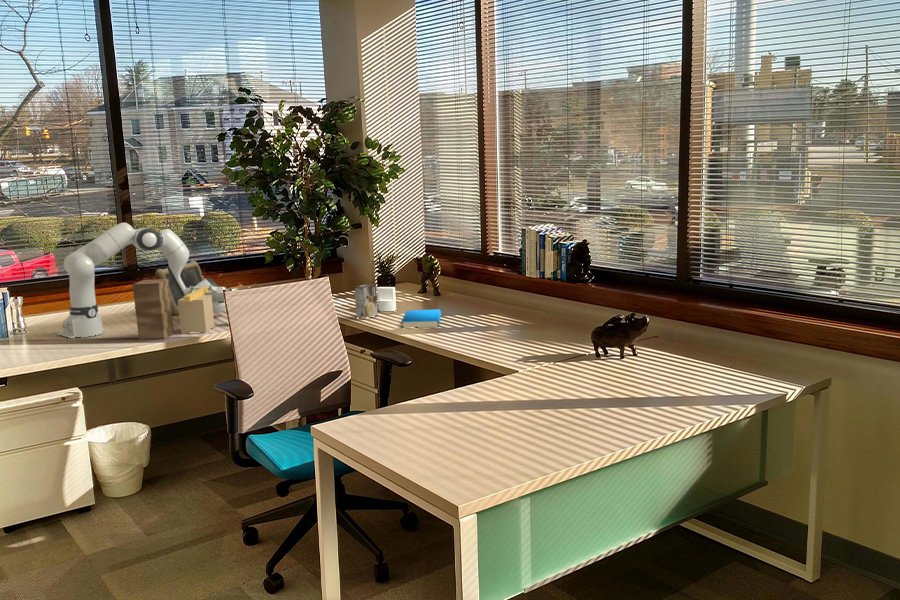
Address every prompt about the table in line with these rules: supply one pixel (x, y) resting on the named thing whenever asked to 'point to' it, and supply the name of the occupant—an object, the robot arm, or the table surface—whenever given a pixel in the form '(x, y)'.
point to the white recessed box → (386, 298)
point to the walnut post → (153, 309)
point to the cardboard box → (196, 314)
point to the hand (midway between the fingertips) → (200, 287)
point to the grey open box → (189, 276)
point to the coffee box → (366, 300)
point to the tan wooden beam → (195, 294)
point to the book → (422, 318)
